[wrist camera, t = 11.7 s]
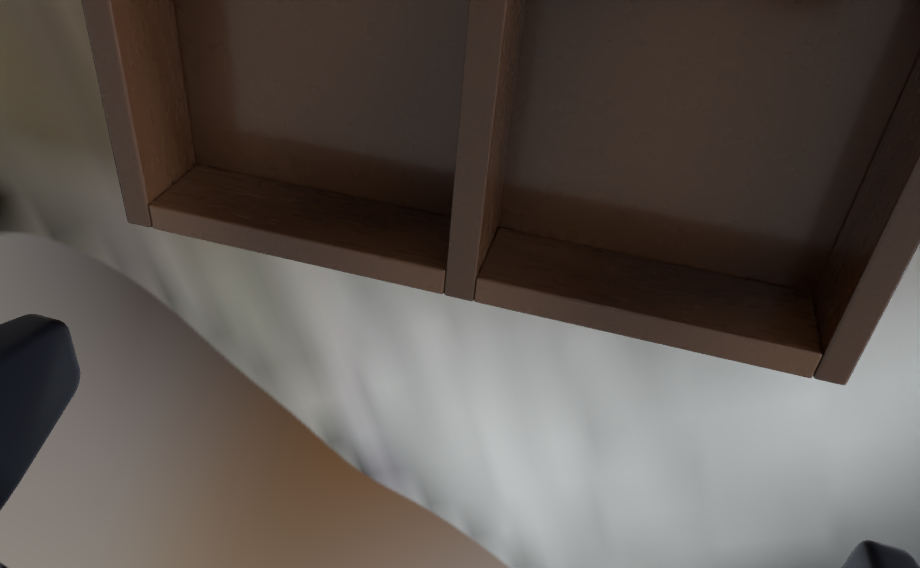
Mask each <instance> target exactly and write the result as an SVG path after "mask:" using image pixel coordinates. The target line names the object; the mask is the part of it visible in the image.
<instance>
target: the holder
mask: <svg viewBox="0 0 920 568" xmlns="http://www.w3.org/2000/svg"><path fill="white" fill-rule="evenodd" d="M82 5H83V10H84V15H85V20H86V24H87V29H88V34H89V39H90V44H91V48H92V53H93V58H94V63H95V68H96V72H97V77H98V82H99V87H100V92H101V96H102V101H103V106H104V111H105V116H106V120H107V125H108V130H109V135H110V140H111V144H112V149H113V154H114V159H115V164H116V168H117V173H118V178H119V183H120V188H121V192H122V197H123V202H124V207H125V212H126V216H127V220H128V222H130V223H133V224H138V225H142V226H146V227H153V228H154V229H158V230H163V231H167V232H171V233H176V234H180V235H185V236H189V237H193V238H198V239H202V240H207V241H211V242H215V243H220V244H224V245H228V246H233V247H237V248H242V249H246V250H250V251H255V252H259V253H264V254H268V255H272V256H277V257H281V258H286V259H290V260H294V261H299V262H303V263H308V264H312V265H316V266H321V267H325V268H329V269H334V270H338V271H343V272H347V273H351V274H356V275H360V276H365V277H369V278H373V279H378V280H382V281H387V282H391V283H395V284H400V285H404V286H409V287H413V288H417V289H422V290H426V291H430V292H435V293H439V294H443V293H445V295H447V296H451V297H455V298H460V299H464V300H469V301H473V300H474V301H475V302H478V303H483V304H487V305H491V306H496V307H500V308H505V309H509V310H513V311H518V312H522V313H526V314H531V315H535V316H540V317H544V318H548V319H553V320H557V321H562V322H566V323H570V324H575V325H579V326H584V327H588V328H592V329H597V330H601V331H605V332H610V333H614V334H619V335H623V336H627V337H632V338H636V339H641V340H645V341H649V342H654V343H658V344H663V345H667V346H671V347H676V348H680V349H685V350H689V351H693V352H698V353H702V354H706V355H711V356H715V357H720V358H724V359H728V360H733V361H737V362H742V363H746V364H750V365H755V366H759V367H764V368H768V369H772V370H777V371H781V372H785V373H790V374H794V375H799V376H803V377H807V378H811V377H812V376H813V377H814V378H815V379H819V380H823V381H827V382H832V383H836V384H841V385H845V384H846V383H847V382H848V380H849V378H850V376H851V374H852V372H853V370H854V368H855V366H856V364H857V362H858V360H859V359H860V357H861V355H862V353H863V351H864V349H865V347H866V345H867V343H868V341H869V339H870V337H871V335H872V334H873V332H874V330H875V328H876V326H877V324H878V322H879V320H880V318H881V316H882V314H883V312H884V310H885V309H886V307H887V305H888V303H889V301H890V299H891V297H892V295H893V293H894V291H895V289H896V287H897V286H898V284H899V282H900V280H901V278H902V276H903V274H904V272H905V270H906V268H907V266H908V264H909V262H910V261H911V259H912V257H913V255H914V253H915V251H916V249H917V247H918V245H919V243H920V0H82Z"/></svg>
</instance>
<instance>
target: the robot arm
mask: <svg viewBox="0 0 920 568" xmlns="http://www.w3.org/2000/svg"><path fill="white" fill-rule="evenodd" d="M79 380H80V368H79V364H78V361H77V357H76V353H75V349H74V346H73V342H72V338H71V334H70V331H69V329H68V327H67V326H66V325H65V323H63V322H62V321H60V320H56V319H52V318H49V317H45V316H41V315H37V314H28V315H24V316H21V317H18V318H16V319H13V320H11V321H8V322H6V323H3V324H0V510H1V509H2V507H3V506H4V505H5V503H6V502H7V500H8V499H9V497H10V496H11V494H12V493H13V491H14V490H15V488H16V487H17V485H18V484H19V482H20V481H21V479H22V478H23V476H24V474H25V473H26V471H27V469H28V468H29V466H30V465H31V463H32V461H33V460H34V458H35V457H36V455H37V453H38V452H39V450H40V448H41V446H42V445H43V444H44V442H45V440H46V439H47V437H48V436H49V434H50V432H51V431H52V429H53V428H54V426H55V424H56V423H57V421H58V419H59V418H60V416H61V415H62V413H63V411H64V410H65V408H66V406H67V405H68V403H69V402H70V400H71V398H72V397H73V395H74V394H75V391H76V390H77V387H78V384H79ZM842 568H920V566H919V565H918V564H917V562H916V561H915V560H914V558H913V557H912V556H911V555H910V554H909V553H907V552H906V551H904V550H902V549H900V548H896V547H893V546H889V545H885V544H881V543H878V542H874V541H870V540H865V541H862V542H861V543H859V544H858V545H857V546H856V547H855V549H854V550H853V552H852V553H851V554H850V556H849V557H848V559H847V560H846V562H845V563H844V565H843V566H842Z"/></svg>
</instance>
